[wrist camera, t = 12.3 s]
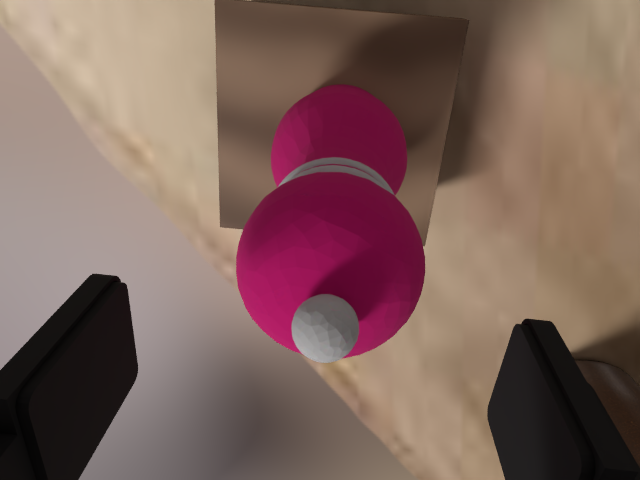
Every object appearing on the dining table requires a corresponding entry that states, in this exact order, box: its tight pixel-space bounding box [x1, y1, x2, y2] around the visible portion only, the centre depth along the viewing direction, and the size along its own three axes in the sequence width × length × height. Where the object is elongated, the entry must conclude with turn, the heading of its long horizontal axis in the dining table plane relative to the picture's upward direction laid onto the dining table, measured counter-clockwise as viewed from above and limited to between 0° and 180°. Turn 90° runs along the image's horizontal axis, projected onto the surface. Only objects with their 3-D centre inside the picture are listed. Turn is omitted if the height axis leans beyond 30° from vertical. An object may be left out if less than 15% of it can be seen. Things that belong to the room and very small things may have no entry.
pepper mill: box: [236, 84, 425, 363], centre depth 21 cm, size 7×7×20 cm
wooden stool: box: [215, 0, 469, 246], centre depth 32 cm, size 14×14×6 cm
